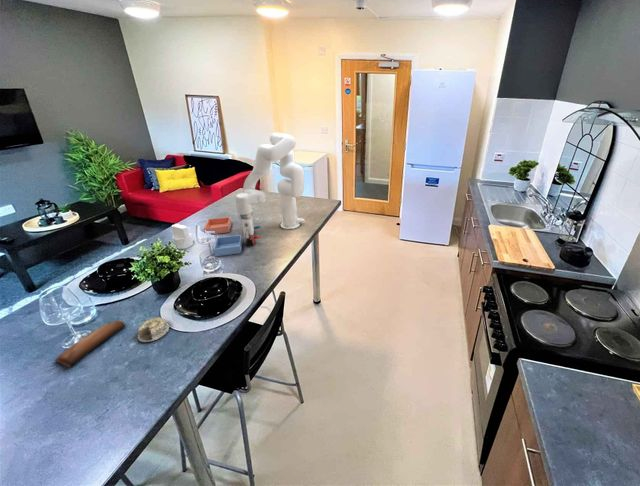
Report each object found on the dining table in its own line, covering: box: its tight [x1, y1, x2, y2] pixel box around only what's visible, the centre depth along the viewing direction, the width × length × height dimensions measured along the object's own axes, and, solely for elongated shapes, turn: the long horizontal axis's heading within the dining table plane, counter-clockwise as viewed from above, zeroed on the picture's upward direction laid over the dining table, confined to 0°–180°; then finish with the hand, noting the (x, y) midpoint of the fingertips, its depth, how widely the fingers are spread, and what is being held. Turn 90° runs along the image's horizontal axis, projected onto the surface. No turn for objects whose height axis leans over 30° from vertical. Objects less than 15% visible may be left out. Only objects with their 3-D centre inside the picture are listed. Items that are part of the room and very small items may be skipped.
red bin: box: [203, 216, 232, 235], centre depth 183 cm, size 13×13×4 cm
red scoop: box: [244, 234, 262, 246], centre depth 168 cm, size 9×5×5 cm, turn 107°
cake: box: [136, 317, 171, 343], centre depth 108 cm, size 10×10×5 cm
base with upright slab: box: [171, 223, 194, 250], centre depth 163 cm, size 9×9×12 cm
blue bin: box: [212, 234, 244, 257], centre depth 162 cm, size 13×13×4 cm
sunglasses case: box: [55, 320, 126, 368], centre depth 103 cm, size 18×7×7 cm
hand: (250, 242), depth 168 cm, fingers closed on red scoop, 4 cm apart
